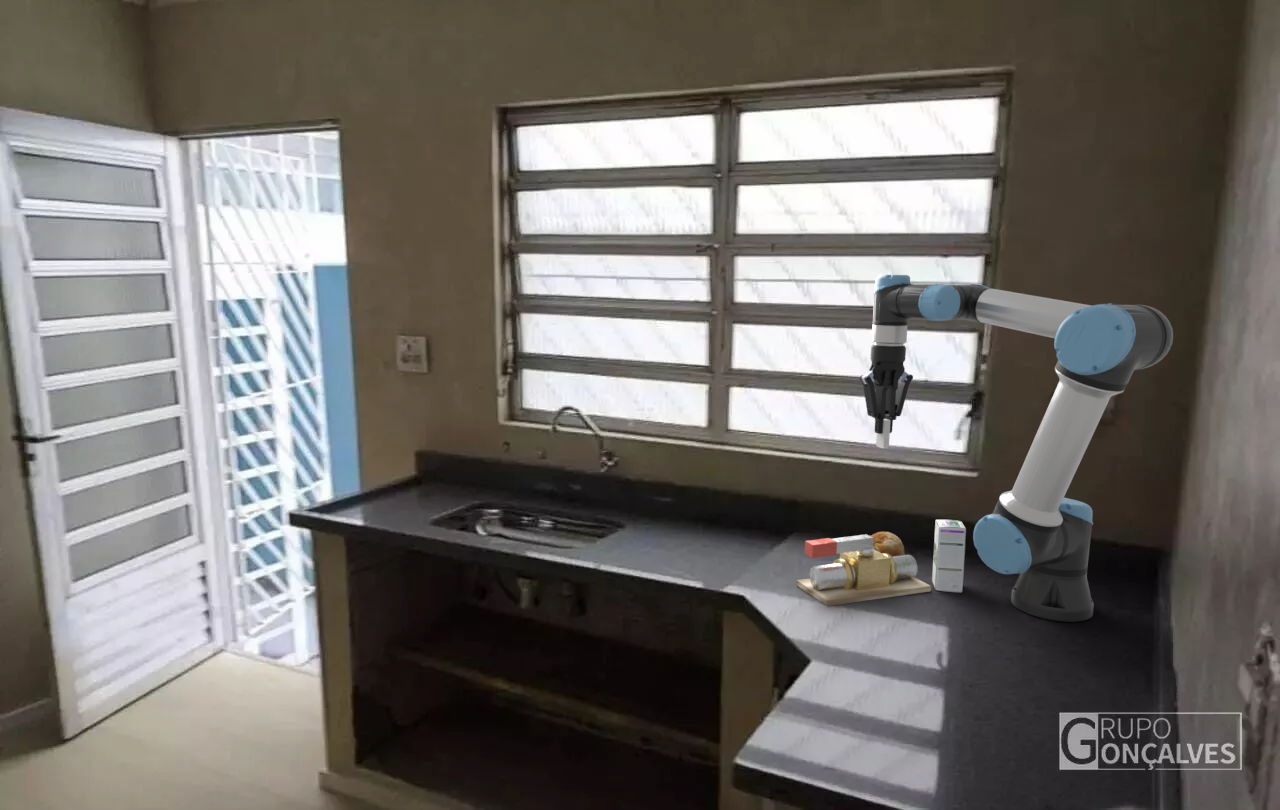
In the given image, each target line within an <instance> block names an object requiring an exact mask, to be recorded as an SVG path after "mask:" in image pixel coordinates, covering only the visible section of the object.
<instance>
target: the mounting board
mask: <svg viewBox="0 0 1280 810" xmlns="http://www.w3.org/2000/svg"><path fill="white" fill-rule="evenodd" d="M795 585H796V586H797V587H798V588H800V589H801V590H802V591H804V592H805V593H806V594H808V595H810V596H811V597H813V598H815V599H816V600H817V601H818V602H819V603H822V604H823V605H824V606H826V607H828V606H836V605H843V604H845V605H846V604H850V603H858V602H866V601H873V600H878V599H879V600H880V599H885V598H894V597H900V596H906V595H914V594H922V593H929V592H931V591H932V585H930V584H929V583H926V582H925V581H922V580H921V579H918V578H917V577H916V576H915V577H913V578H905V579H898V580H896V581H895V583H894V584H889V587H883V588H875V589H868V590H861V591H856V590H855V589H853V588H851V589H850V590H845V589H843V588H841V587H838V588H830V589H823V590H816V589H814V588H813V586H812V584H811V581H810V577H809V578H803V579H797V580H796V584H795Z"/></svg>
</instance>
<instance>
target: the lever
mask: <svg viewBox="0 0 1280 810" xmlns="http://www.w3.org/2000/svg"><path fill="white" fill-rule="evenodd" d="M873 539H874V538H873V537H871V535H870V534H869V535H868V534H867V533H865V534H859V535H851V536H843V537H842V536H841V537H836V538H835V537H834V538H831V537H826V538H819V539H811V540H805V541H804V542H805V543H804V554H805V555H806V556H807V557H810V558H811V559H815V558H823V557H830V556H836V555H837V554H840V553H845V552H853V551H857V554H858V555H860V556H865V557H870V556H873V555H874V547H873Z"/></svg>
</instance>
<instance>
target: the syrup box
mask: <svg viewBox="0 0 1280 810" xmlns="http://www.w3.org/2000/svg"><path fill="white" fill-rule="evenodd" d="M966 536H967V528H966V526H965V525H964V524H963V522H962V520H957V519H956V520H955V519H935V525H934V536H933V537H934V542H933V558H932V559H933V560H932V574H931V582H932V585H933V587H934V589H935V590H936V591H938V592H939V591H941V592H946V593H947V592H949V593H962V592H963V584H964V571H965V555H966Z"/></svg>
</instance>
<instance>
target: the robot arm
mask: <svg viewBox="0 0 1280 810" xmlns="http://www.w3.org/2000/svg"><path fill="white" fill-rule="evenodd" d="M873 290H874V291H873V294H872V295H873V311H872V312H873V314H872V328H871V342H872V343H873V344H872V345H871V346H870V361H871V363H870V364H871V365H870V367H869V370H868V372H867V373H865V374H861V375H860V376H859V380H860V381H861V384H862V386H863V392H864V400H865V405H866V412H867V413H866V414H867V416H869V417H871V418H873V419H874V433H876V441H875V446H876V447H877V448H880V449H890V448H889V447H890V434H892V432H893V424H894V423H893V422H894V421H896V420H897V417H901V415H902V411H903V409H904V405H905V400H906V399H907V398H906V397H907V394H908V389H909V386H910V384H911V382H912V381H913V379H914V376H913V375H912V374H909V373H908V372H906V370H905V369H906V368H905V366H904V362H905V361H906V352H907V347H906V346H905V345H904V344H906V343H907V342H908V341H907V340H908V324H909V323H908V321H909V319H914V320H923V321H924V320H925V321H930V322H944V321H950V320H965V321H971V322H975V323H982V324H987V325H992V326H995V327H1002V328H1006V329H1010V330H1015V331H1020V332H1024V333H1027V334H1028V333H1030V334H1034V335H1037V336H1042V337H1046V338H1047V337H1048V338H1051V339H1054V342H1053V343H1054V344H1053V346H1054V350H1055V351H1056V358H1057V361H1056V365H1055V366H1054V371H1055V373H1056V374H1057V377H1058V378H1059V381H1058V383H1057V386H1056V388H1055V390H1054V393H1053V394H1052V395H1053V396H1052V397H1051V399H1050V402H1049V404H1048V407H1047V408H1046V411H1045V414H1044V416H1043V417H1042V420H1041V421H1040V424H1039V427H1038V429H1037V432H1036V434H1035V436H1034V439H1033V441H1032V443H1031V445H1030V448H1029V450H1028V452H1027V454H1026V457H1025V459H1024V462H1023V464H1022V467H1021V469H1020V470H1019V473H1018V476H1017V478H1016V480H1015V482H1014V485H1013V487H1012V489H1011V490H1008V491H1004V492H1002V493H1001V494H1000V495H999V498H998V500H997V502H996V505H995V507H994V510H993V511H992V513H991V514H986V515H984V516H983V517H982V518H981V519H979V520H978V522H976V524H975V526H974V529H973V533H972V534H973V535H972V538H973V539H972V540H973V545H974V547H975V549H976V550H977V555H978V556H979V558H980V559H981V561H982V562H983V563H984V564H985V565H986V566H987V567H989V569H991V570H993V571H995V572H996V573H999V574H1002V575H1013V574H1016V575H1017V574H1018V577H1017V579H1016V581H1015V584H1014V586H1013V587H1012V589H1011V597H1010V601H1011V604H1012V605H1013V606H1014V607H1015V608H1016V609H1018V610H1019V611H1022V612H1024V613H1026V614H1029V615H1031V616H1034V617H1038V618H1041V619H1045V620H1050V621H1056V622H1057V621H1058V622H1067V623H1068V622H1069V623H1070V622H1072V623H1073V622H1082V621H1086V620H1089V619H1091V618H1092V617H1093V614H1094V605H1095V604H1094V601H1093V599H1092V597H1091V596H1092V595H1091V591H1090V586H1089V581H1088V578H1087V577H1088V576H1087V575H1088V565H1089V564H1088V563H1089V557H1090V548H1091V547H1090V546H1091V540H1092V530H1093V525H1094V522H1093V516H1094V515H1093V509H1092V507H1091V506H1090V505H1089V504H1087V503H1085V502H1083V501H1080V500H1078V499H1077V500H1076V499H1072V498H1067V497H1065V496H1066V493H1067V491H1068V489H1069V488H1070V485H1071V483H1072V481H1073V478H1074V476H1075V474H1076V472H1077V471H1078V470H1077V469H1078V467H1079V465H1080V463H1081V461H1082V459H1083V457H1084V455H1085V453H1086V450H1087V449H1088V446H1089V445H1090V442H1091V440H1092V437H1093V435H1094V433H1095V432H1096V429H1097V427H1098V425H1099V423H1100V420H1101V419H1102V416H1103V414H1104V412H1105V410H1106V408H1107V406H1108V403H1109V401H1110V399H1111V397H1113V396H1116V395H1119V394H1122V393H1124V391H1125V390H1126V388H1127V386H1128V384H1129V381H1130V379H1131V377H1132V375H1133V373H1134V371H1137V370H1138V371H1139V370H1144V369H1147V368H1149V367H1153V366H1155V365H1156V364H1158V363H1160V361H1162V360H1163V359H1164V357H1166V356H1167V355H1168V353H1169V351H1170V350H1171V347H1172V345H1173V341H1174V329H1173V327H1172V325H1171V322H1170V320H1169V319H1168V318H1167V316H1166V315H1165V314H1163V313H1162V311H1160V310H1158V309H1157V308H1155V307H1152V306H1149V305H1146V304H1145V305H1144V304H1119V303H1118V304H1117V303H1112V302H1111V303H1100V304H1099V303H1098V304H1094V305H1092V304H1091V305H1090V304H1085V303H1084V304H1083V303H1079V302H1073V301H1068V300H1067V301H1066V300H1061V299H1054V298H1050V297H1045V296H1044V297H1043V296H1037V295H1032V294H1026V293H1019V292H1015V291H1014V292H1013V291H1008V290H1002V289H995V288H990V287H989V286H986V285H982V284H975V283H973V284H972V283H971V284H944V283H940V284H939V283H933V284H932V283H930V284H929V283H928V284H927V283H925V284H918V283H917V284H914V283H911V277H910V276H909V275H908V274H879V275H877V276H876V278H875V283H874V289H873Z"/></svg>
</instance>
